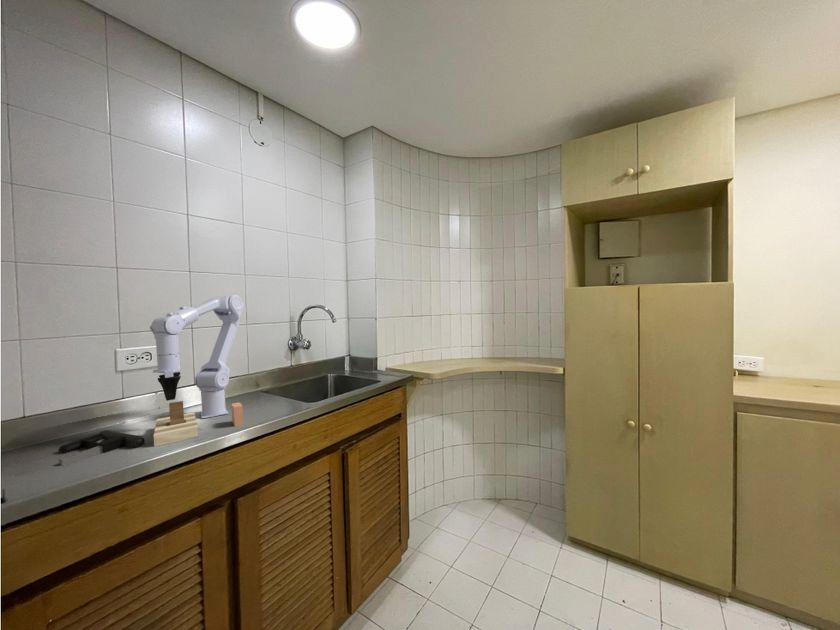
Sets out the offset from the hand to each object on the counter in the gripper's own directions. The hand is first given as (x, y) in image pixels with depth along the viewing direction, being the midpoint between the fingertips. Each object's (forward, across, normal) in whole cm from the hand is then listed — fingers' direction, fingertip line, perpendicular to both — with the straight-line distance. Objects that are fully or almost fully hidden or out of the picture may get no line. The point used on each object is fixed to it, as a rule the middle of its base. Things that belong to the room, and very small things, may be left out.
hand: (170, 397), depth 107 cm
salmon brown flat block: (+10, +9, +17) cm, 22 cm away
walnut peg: (+10, +5, +1) cm, 11 cm away
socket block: (+10, +5, +1) cm, 11 cm away
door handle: (+11, +7, -17) cm, 21 cm away
